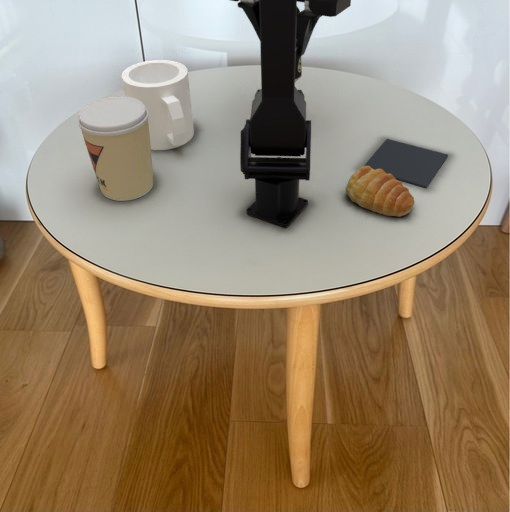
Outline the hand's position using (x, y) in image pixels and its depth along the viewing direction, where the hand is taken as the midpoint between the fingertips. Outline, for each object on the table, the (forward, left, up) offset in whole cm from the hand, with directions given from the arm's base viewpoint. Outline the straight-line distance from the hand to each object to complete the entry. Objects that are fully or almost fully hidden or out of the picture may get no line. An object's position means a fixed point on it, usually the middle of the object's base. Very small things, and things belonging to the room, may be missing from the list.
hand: (283, 51), depth 88 cm
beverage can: (0, 0, -5) cm, 5 cm away
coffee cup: (-27, +11, -13) cm, 32 cm away
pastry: (-12, -22, -13) cm, 28 cm away
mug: (-13, +15, -13) cm, 24 cm away
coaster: (-1, -22, -13) cm, 25 cm away
